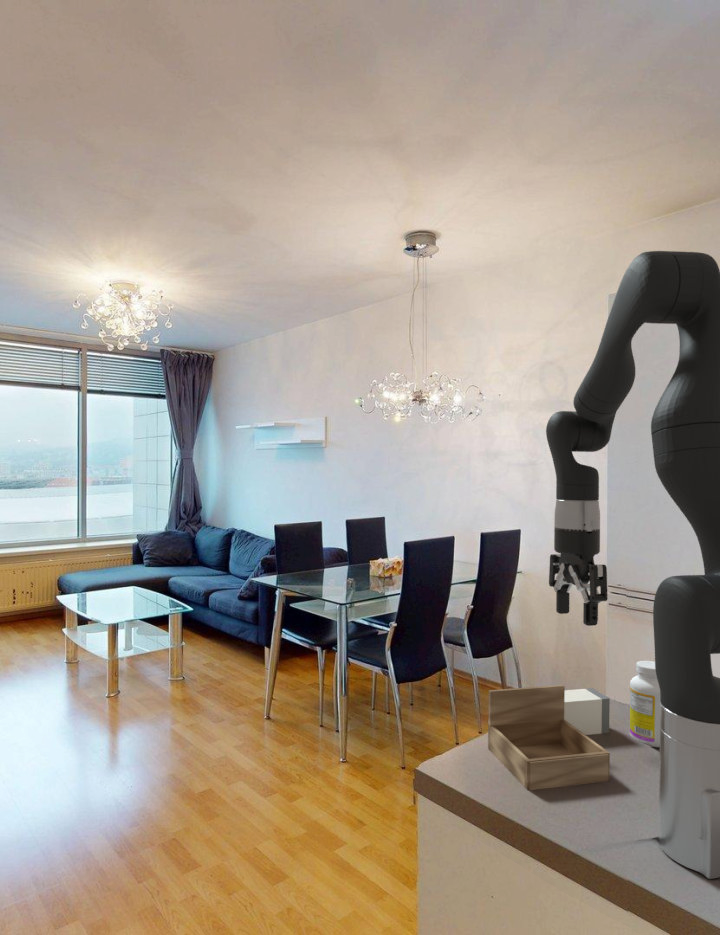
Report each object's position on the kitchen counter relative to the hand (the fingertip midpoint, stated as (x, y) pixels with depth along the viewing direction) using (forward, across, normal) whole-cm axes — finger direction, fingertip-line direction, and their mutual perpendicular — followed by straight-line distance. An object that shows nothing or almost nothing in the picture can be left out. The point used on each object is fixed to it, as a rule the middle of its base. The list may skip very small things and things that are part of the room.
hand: (576, 618), depth 108 cm
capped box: (+20, 0, 0) cm, 20 cm away
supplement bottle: (+20, +5, +11) cm, 23 cm away
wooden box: (+20, +10, -12) cm, 25 cm away
